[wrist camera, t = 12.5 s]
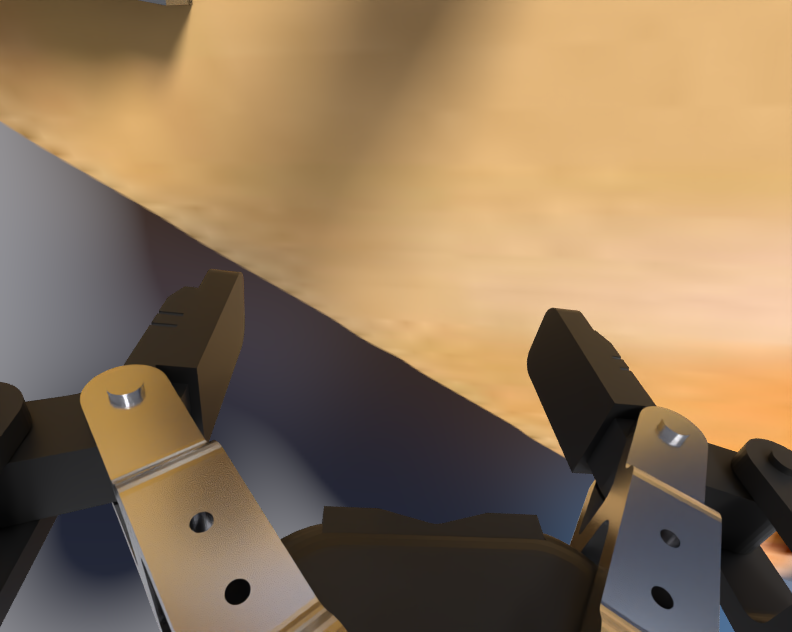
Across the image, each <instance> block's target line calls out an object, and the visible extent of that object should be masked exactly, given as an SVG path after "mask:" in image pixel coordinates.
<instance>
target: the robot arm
mask: <svg viewBox="0 0 792 632" xmlns="http://www.w3.org/2000/svg"><path fill="white" fill-rule="evenodd" d="M244 318H245V315H244V280H243V274H242V273H241V272H234V271H224V270H216V269H210V270H208V272H207V274H206V275H205V277H204V279H203V281H202V283H201V284H200V286H199V288H194V287H183V288H182V289H180V290H179V291H177V292H176V293H174V294H172V295H171V296H169V297H168V298H167V299H166V301H165V303H164V304H163V306H162V307H161V309H160V310H159V314H157V315H156V317H155V318H154V320H153V321H152V325H150V326H149V327H148V329H147V330H146V332H145V333H144V335H143V336H142V338H141V339H140V341H139V342H138V344H137V346H136V347H135V349H134V350H133V352H132V353H131V355H130V356H129V358H128V359H127V361H126V363H125V364H124V366H120V367H116V368H113V369H110V370H107V371H105V372H103V373H101V374H99V375H98V376H96V377H94V378H93V379H92V380H91V381H89V383H88V384H87V385H86V386H85V387H84V389H83V390H82V392H81V393H79V394H74V395H69V396H63V397H55V398H48V399H41V400H35V401H28V402H25V400H24V398H23V395H22V393H21V392H20V390H19V389H18V388H16V387H15V386H13V385H10V384H7V383H3V382H0V626H1V624H2V622H3V620H4V618H5V616H6V614H7V613H8V611H9V609H10V606H11V605H12V603H13V601H14V599H15V597H16V595H17V593H18V591H19V589H20V587H21V586H22V583H23V582H24V580H25V578H26V575H27V574H28V572H29V570H30V568H31V566H32V564H33V562H34V560H35V558H36V557H37V555H38V553H39V551H40V549H41V547H42V545H43V543H44V541H45V539H46V537H47V535H48V533H49V531H50V529H51V527H52V526H53V523H54V522H55V520H56V518H57V516H58V515H60V514H65V513H69V512H73V511H77V510H82V509H86V508H90V507H94V506H99V505H103V504H107V503H112V504H113V507H114V509H115V512H116V514H117V517H118V520H119V522H120V525H121V527H122V530H123V533H124V535H125V538H126V540H127V543H128V545H129V548H130V551H131V553H132V556H133V558H134V561H135V564H136V566H137V569H138V571H139V574H140V577H141V579H142V582H143V585H144V587H145V591H146V593H147V596H148V599H149V602H150V605H151V607H152V610H153V613H154V616H155V618H156V621H157V624H158V626H159V629H160V632H719V613H720V605H721V607H722V609H723V611H724V613H725V615H726V616H727V618H728V620H729V622H730V624H731V626H732V627H733V629H734V631H735V632H792V593H791V591H790V590H789V588H788V587H787V585H786V584H785V582H784V581H783V579H782V578H781V576H780V575H779V573H778V572H777V570H776V569H775V567H774V566H773V564H772V563H771V561H770V560H769V558H768V557H767V555H766V554H765V552H764V551H763V549H762V548H761V546H760V544H761V543H763V542H764V541H765V540H766V539H767V538H768V537H770V536H771V535H772V534H773V533H774V532H775V531H777V532H778V534H779V535H780V536H781V538H782V539H783V541H784V542H785V543H786V545H787V546H788V547H789V549H790V550H791V552H792V451H791V450H789V449H787V448H786V447H784V446H782V445H779V444H777V443H775V442H772V441H769V440H765V439H757V438H756V439H751V440H749V441H748V442H747V443H746V444H745V445H744V446H743V447H742V448H741V449H740V451H739V452H735V451H732V450H729V449H725V448H722V447H719V446H716V445H713V444H710V443H707V440H706V438H705V436H704V435H703V433H702V432H701V431H700V430H699V429H698V428H697V427H696V426H695V425H694V424H693V423H692V422H691V421H689V420H688V419H687V418H685V417H683V416H682V415H680V414H678V413H676V412H674V411H672V410H669V409H666V408H662V407H657V406H656V405H655V403H654V402H653V401H652V399H651V398H650V397H649V395H648V394H647V392H646V391H645V390H644V388H643V387H642V385H641V384H640V383H639V381H638V380H637V378H636V377H635V376H634V374H633V373H632V372H631V371H629V367H628V366H627V365H626V363H625V362H624V360H622V359H621V356H620V355H619V353H618V352H617V351H616V349H615V348H614V347H613V345H612V344H611V343H610V342H609V341H608V340H606V339H605V338H604V337H603V336H602V335H600V334H599V333H598V332H597V331H594V330H593V329H592V327H591V326H590V324H589V323H588V321H587V320H586V319H585V317H584V316H583V314H582V313H581V312H580V311H576V310H567V309H558V308H550V309H549V310H548V311H547V312H546V314H545V316H544V318H543V320H542V323H541V325H540V327H539V330H538V332H537V334H536V337H535V339H534V341H533V344H532V346H531V348H530V351H529V354H528V358H527V370H528V374H529V376H530V379H531V381H532V383H533V385H534V388H535V390H536V392H537V394H538V397H539V399H540V401H541V403H542V406H543V408H544V410H545V413H546V415H547V417H548V419H549V422H550V424H551V426H552V428H553V431H554V433H555V435H556V437H557V440H558V442H559V444H560V447H561V449H562V451H563V453H564V456H565V458H566V460H567V462H568V465H569V467H570V469H571V471H572V473H587V474H593V476H594V478H595V480H594V482H593V483H592V485H591V486H590V488H589V491H588V494H587V496H586V499H585V502H584V505H583V508H582V511H581V514H580V517H579V520H578V522H577V526H576V528H575V531H574V534H573V537H572V540H571V543H570V545H568V544H566V543H564V542H562V541H560V540H558V539H556V538H554V537H551V536H549V535H547V534H543V532H542V530H541V526H540V524H539V520H538V518H537V515H525V514H524V515H523V514H501V513H485V514H480V515H477V516H472V517H468V518H463V519H459V520H455V521H451V522H446V523H442V524H432V523H428V522H424V521H421V520H417V519H414V518H410V517H407V516H403V515H400V514H396V513H393V512H390V511H386V510H382V509H378V508H377V509H376V508H354V507H331V506H324V511H323V519H322V524H318V525H314V526H310V527H307V528H304V529H301V530H299V531H296V532H294V533H292V534H290V535H288V536H286V537H284V538H282V539H281V540H280V538H279V537H278V535H277V534H276V532H275V530H274V529H273V527H272V526H271V524H270V522H269V521H268V519H267V518H266V516H265V514H264V513H263V511H262V510H261V508H260V507H259V505H258V503H257V502H256V500H255V499H254V497H253V495H252V494H251V492H250V491H249V489H248V487H247V486H246V484H245V483H244V481H243V479H242V478H241V476H240V475H239V473H238V471H237V470H236V468H235V467H234V465H233V463H232V462H231V460H230V459H229V457H228V456H227V454H226V452H225V451H224V449H223V448H222V446H221V445H220V444H219V443H218V442H217V441H215V440H213V441H210V442H209V440H210V437H211V434H212V431H213V428H214V425H215V422H216V419H217V417H218V414H219V411H220V408H221V405H222V402H223V399H224V396H225V393H226V390H227V388H228V385H229V382H230V379H231V376H232V373H233V370H234V368H235V365H236V362H237V359H238V356H239V353H240V350H241V347H242V343H243V337H244V328H245V319H244Z"/></svg>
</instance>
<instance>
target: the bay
mask: <svg viewBox="0 0 792 632" xmlns="http://www.w3.org/2000/svg"><path fill="white" fill-rule="evenodd" d="M140 1H146V2H151V3H156V4H161V5H191V4H192V0H140Z"/></svg>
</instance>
